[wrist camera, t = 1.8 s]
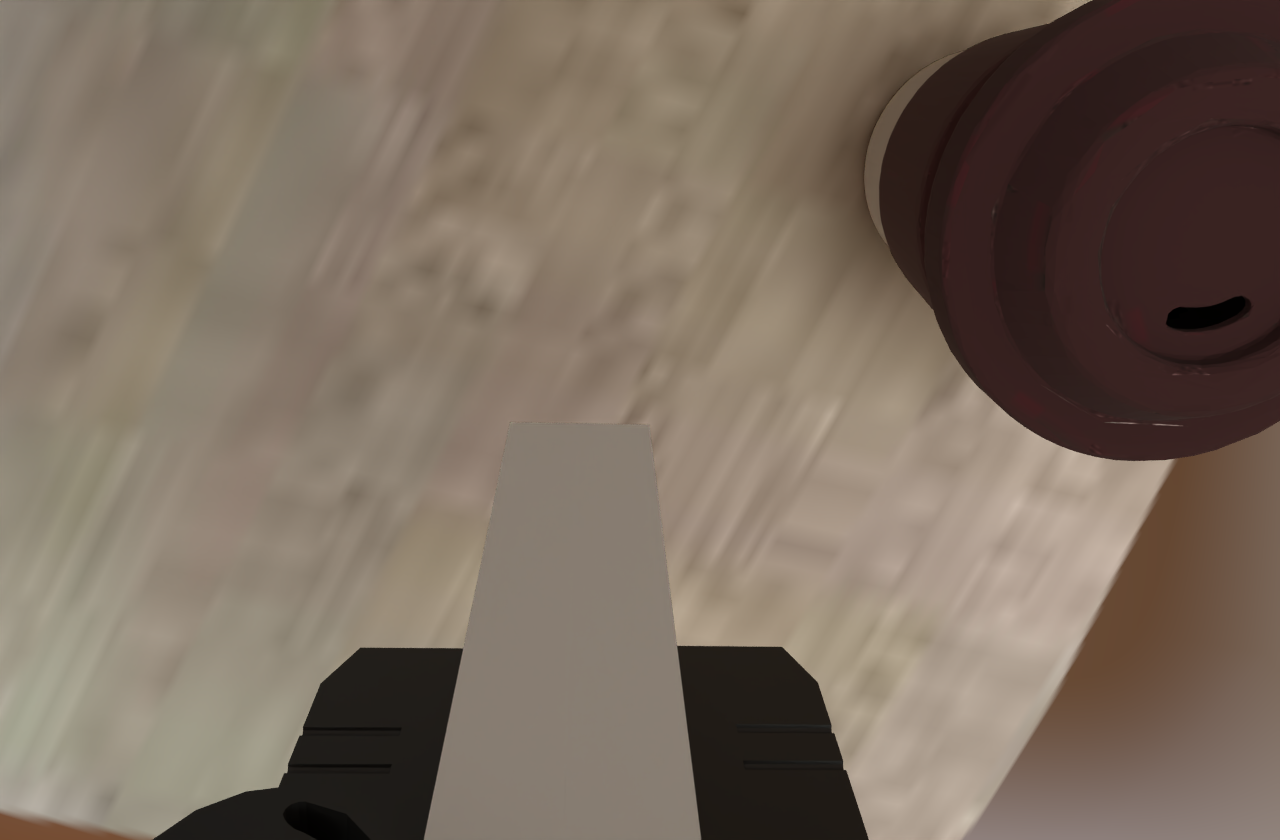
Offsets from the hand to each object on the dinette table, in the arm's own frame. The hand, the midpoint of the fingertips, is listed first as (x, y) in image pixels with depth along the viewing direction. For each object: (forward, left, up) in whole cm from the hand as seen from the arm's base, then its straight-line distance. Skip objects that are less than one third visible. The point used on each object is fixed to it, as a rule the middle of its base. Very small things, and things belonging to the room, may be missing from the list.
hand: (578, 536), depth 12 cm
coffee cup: (+7, +10, -24) cm, 27 cm away
